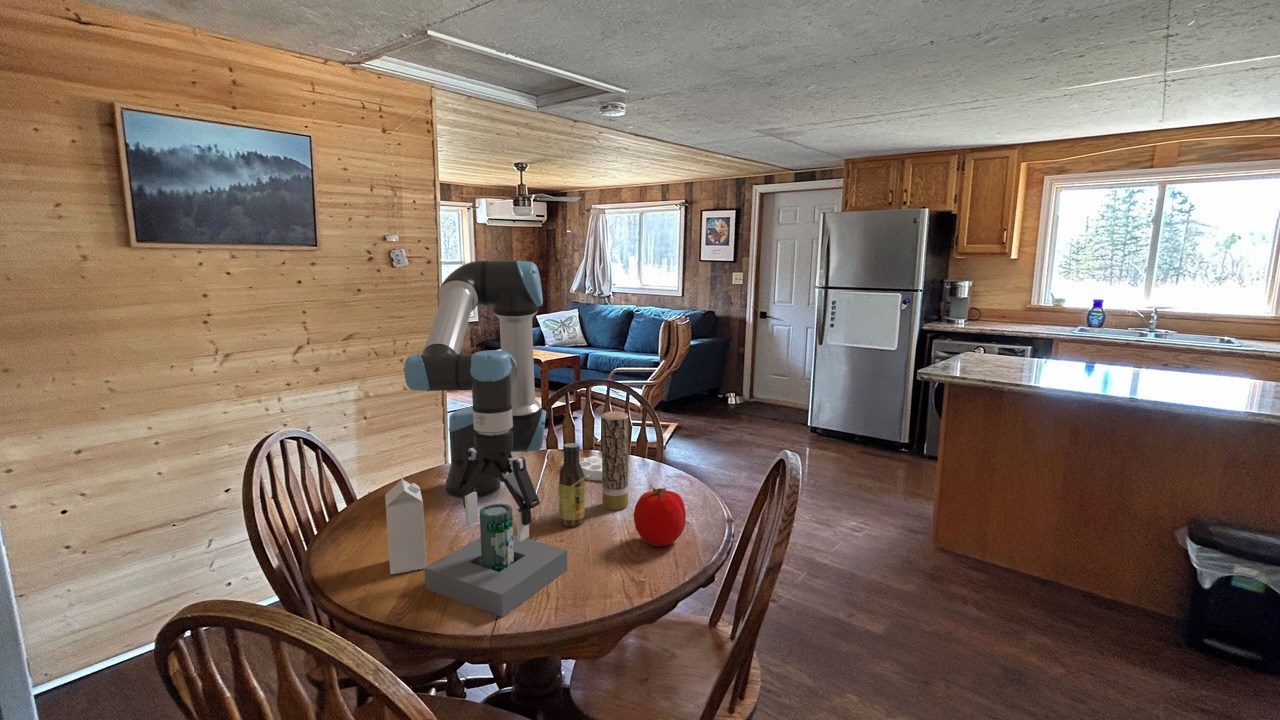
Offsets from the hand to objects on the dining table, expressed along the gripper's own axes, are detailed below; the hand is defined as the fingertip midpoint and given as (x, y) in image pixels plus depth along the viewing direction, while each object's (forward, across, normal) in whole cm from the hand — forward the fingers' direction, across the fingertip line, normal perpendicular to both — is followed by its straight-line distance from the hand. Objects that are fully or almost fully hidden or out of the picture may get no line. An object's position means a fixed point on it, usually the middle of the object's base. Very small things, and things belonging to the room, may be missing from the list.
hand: (497, 531), depth 124 cm
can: (+10, 0, 0) cm, 11 cm away
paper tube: (+11, +1, +44) cm, 45 cm away
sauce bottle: (+11, -3, +30) cm, 32 cm away
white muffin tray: (+12, -18, +63) cm, 66 cm away
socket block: (+10, 0, 0) cm, 10 cm away
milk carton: (+11, -21, -5) cm, 24 cm away
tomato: (+11, +21, +31) cm, 39 cm away
